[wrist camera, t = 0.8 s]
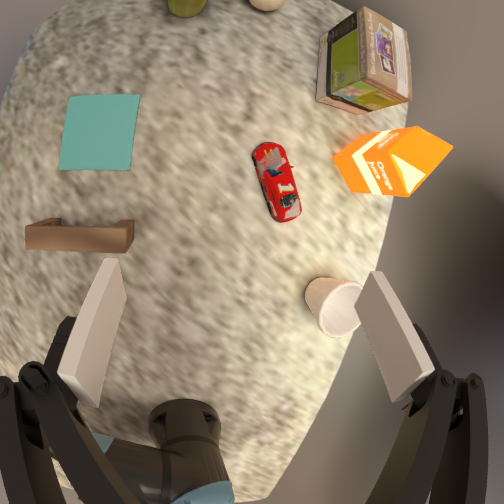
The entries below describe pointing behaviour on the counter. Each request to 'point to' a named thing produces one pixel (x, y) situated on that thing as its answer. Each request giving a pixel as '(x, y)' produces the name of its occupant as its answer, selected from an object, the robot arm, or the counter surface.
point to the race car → (277, 181)
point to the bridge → (79, 237)
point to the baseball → (267, 4)
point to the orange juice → (391, 161)
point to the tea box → (364, 64)
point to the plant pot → (186, 7)
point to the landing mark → (99, 132)
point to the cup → (334, 305)
